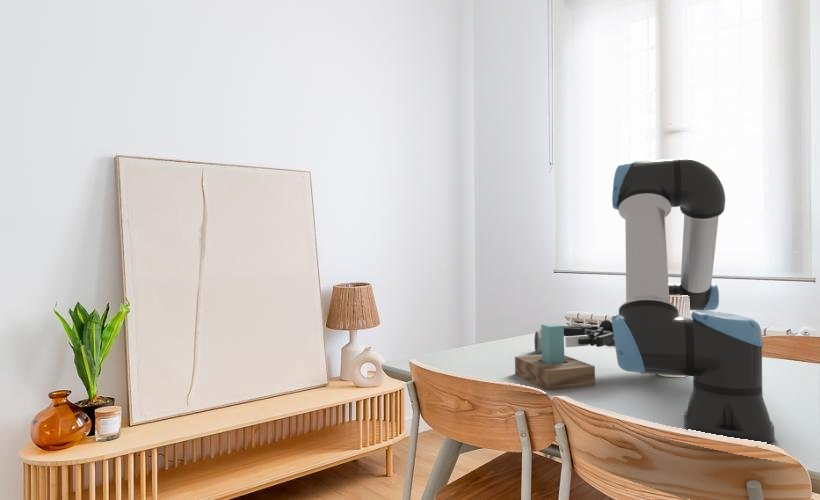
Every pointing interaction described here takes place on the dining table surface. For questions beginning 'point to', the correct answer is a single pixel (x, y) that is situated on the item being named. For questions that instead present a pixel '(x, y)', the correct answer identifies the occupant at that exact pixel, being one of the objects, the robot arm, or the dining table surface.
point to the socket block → (555, 372)
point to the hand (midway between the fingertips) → (552, 337)
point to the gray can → (538, 343)
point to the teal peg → (552, 343)
